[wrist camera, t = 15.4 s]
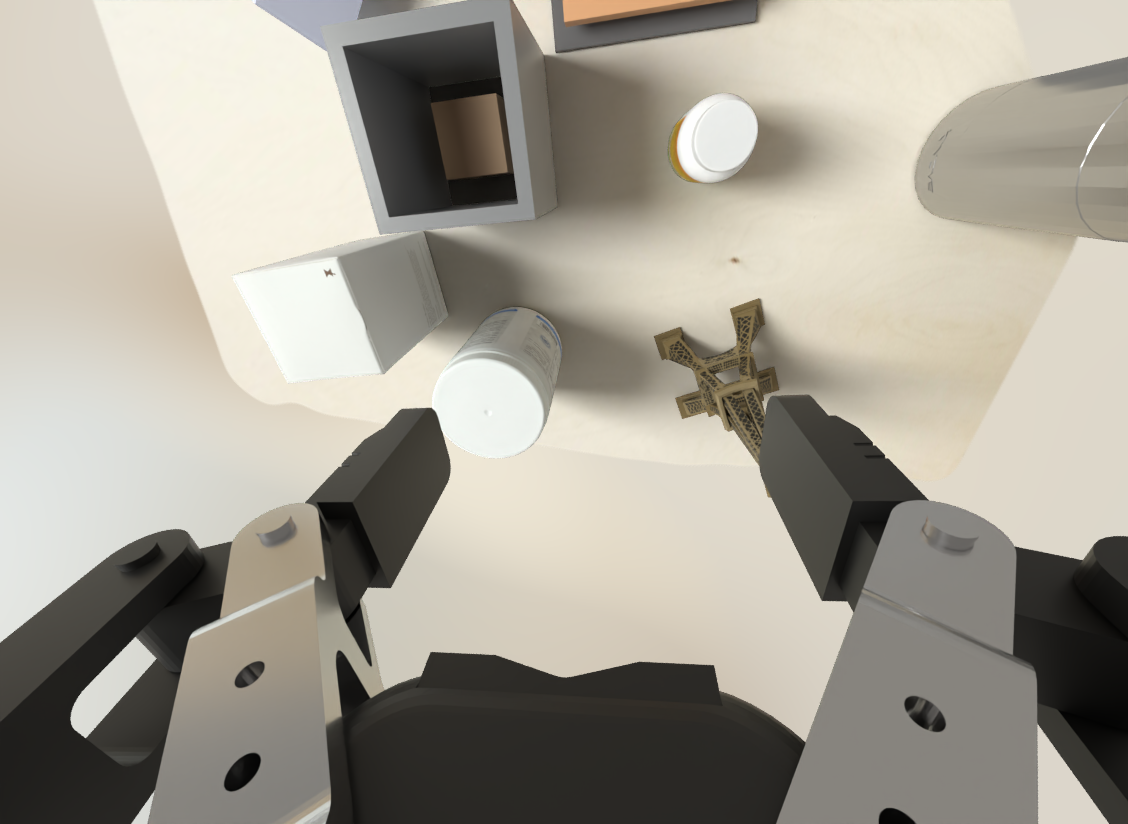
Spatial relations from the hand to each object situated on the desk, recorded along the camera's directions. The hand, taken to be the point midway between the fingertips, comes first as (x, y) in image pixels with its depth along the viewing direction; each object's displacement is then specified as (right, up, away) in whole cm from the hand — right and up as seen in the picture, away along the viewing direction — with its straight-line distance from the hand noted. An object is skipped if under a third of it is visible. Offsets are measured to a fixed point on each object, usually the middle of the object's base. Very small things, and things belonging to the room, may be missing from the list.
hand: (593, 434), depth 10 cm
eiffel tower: (+16, +6, +35) cm, 38 cm away
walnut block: (-7, +24, +27) cm, 37 cm away
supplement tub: (-5, +8, +36) cm, 37 cm away
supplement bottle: (+11, +23, +25) cm, 36 cm away
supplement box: (-18, +14, +34) cm, 41 cm away
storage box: (-7, +24, +27) cm, 37 cm away
